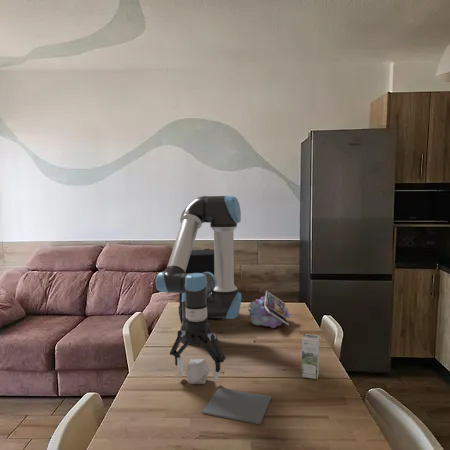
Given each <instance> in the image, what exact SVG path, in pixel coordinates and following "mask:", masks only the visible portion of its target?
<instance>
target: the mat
mask: <svg viewBox="0 0 450 450" xmlns="http://www.w3.org/2000/svg"><path fill="white" fill-rule="evenodd" d="M271 400H272V396H271V395H266V394H265V395H264V394H259V393H253V392H248V391H240V390H236V389H229V388H224V387H218V389H217V390H216V391H215V393H214V395H213V396H212V398H210V400H209V401H208V403H207V404H206V406H205V407H204V409H203V410H202V412H201V413H202V415H209V416H214V417H218V418H224V419H228V420H234V421H240V422H243V423H249V424H250V423H251V424H255V425H261V424H262V422H263V419H264V417H265V414H266V412H267V409H268V407H269V405H270V402H271Z"/></svg>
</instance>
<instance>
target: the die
mask: <svg viewBox="0 0 450 450" xmlns="http://www.w3.org/2000/svg"><path fill="white" fill-rule="evenodd" d="M185 374H186V377H187V380H188V382H189V384H190V385H205V384H206V381H207V379H208V376H209V374H210V368H209V366H208V364H207V361H206V359H205V358H198V359H197V358H196V359H195V358H193V359H192V358H191V359H190V360H189V362H188V365H187V368H186V370H185Z"/></svg>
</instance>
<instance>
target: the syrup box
mask: <svg viewBox="0 0 450 450" xmlns="http://www.w3.org/2000/svg"><path fill="white" fill-rule="evenodd" d="M319 362H320V335H317V334H308V333H303V334H302V337H301V378H303V379H304V378H305V379H310V380H318V378H319V374H320V367H319V366H320V365H319V364H320V363H319Z"/></svg>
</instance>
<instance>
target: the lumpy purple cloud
mask: <svg viewBox="0 0 450 450" xmlns="http://www.w3.org/2000/svg"><path fill="white" fill-rule="evenodd" d="M248 307H249V308H248V310H247V311H248V312H249V317H250V320H251V324H253V325H255V326H263V327H267V328H268V327H270V328H271V329H275V328H277V327H280V326H281V325H282V324H285V325H286V326H287V327H290V325H289V323H290V322H288V320H287V319H289V318H291V316H292V313H291V312H289V309H288V307H286V302H284V301H282V300H281V299H280V298H278V297H276V296H275V295H274V294H272V293H271V292H269V291H268V290H265V293H264V296H261V297H260V299H255V301H251V302H250V303H249V304H248Z"/></svg>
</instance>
